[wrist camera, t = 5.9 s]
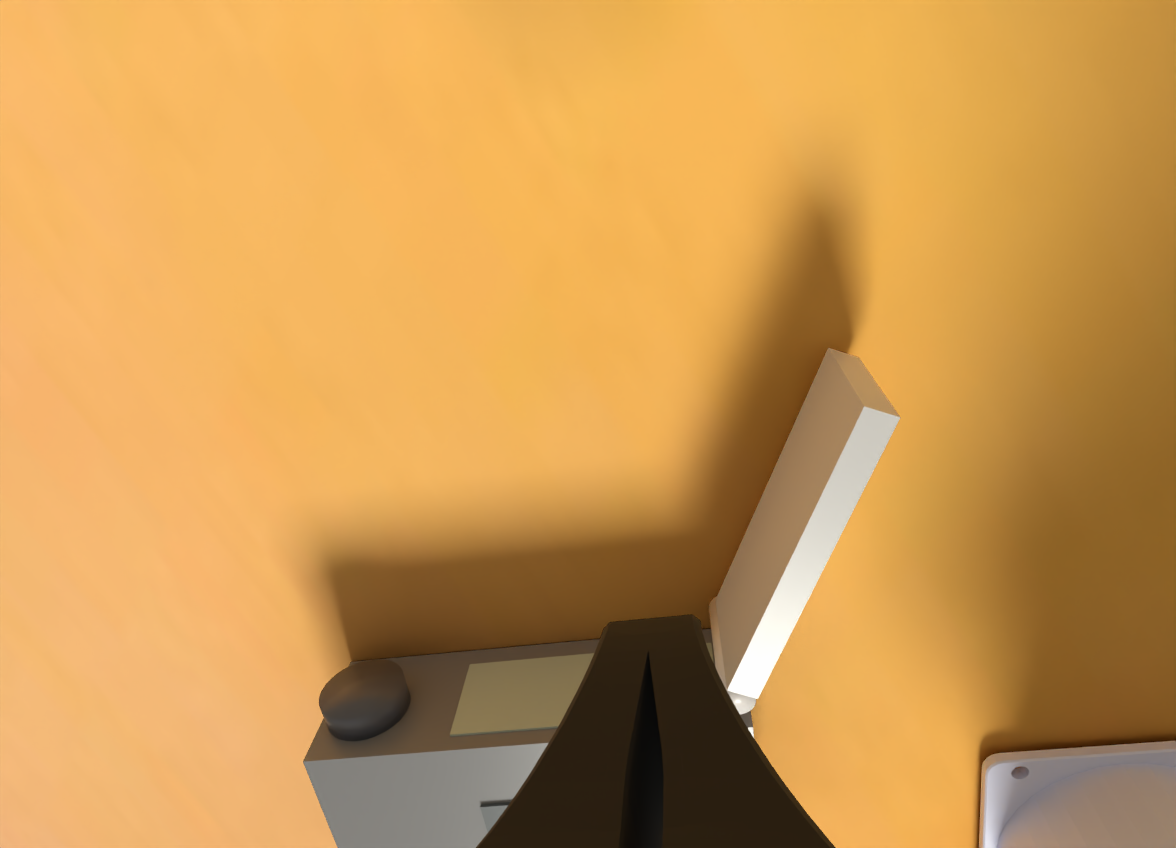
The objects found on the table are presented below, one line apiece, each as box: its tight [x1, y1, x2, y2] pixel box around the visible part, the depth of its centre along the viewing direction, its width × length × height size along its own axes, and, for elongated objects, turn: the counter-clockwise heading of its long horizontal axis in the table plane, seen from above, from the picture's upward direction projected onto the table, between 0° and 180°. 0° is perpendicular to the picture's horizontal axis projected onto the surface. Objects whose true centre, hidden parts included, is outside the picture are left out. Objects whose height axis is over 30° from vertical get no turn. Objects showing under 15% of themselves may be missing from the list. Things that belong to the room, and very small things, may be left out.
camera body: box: [303, 629, 754, 848], centre depth 25 cm, size 12×8×4 cm, turn 99°
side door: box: [709, 348, 900, 714], centre depth 21 cm, size 9×1×4 cm, turn 163°
